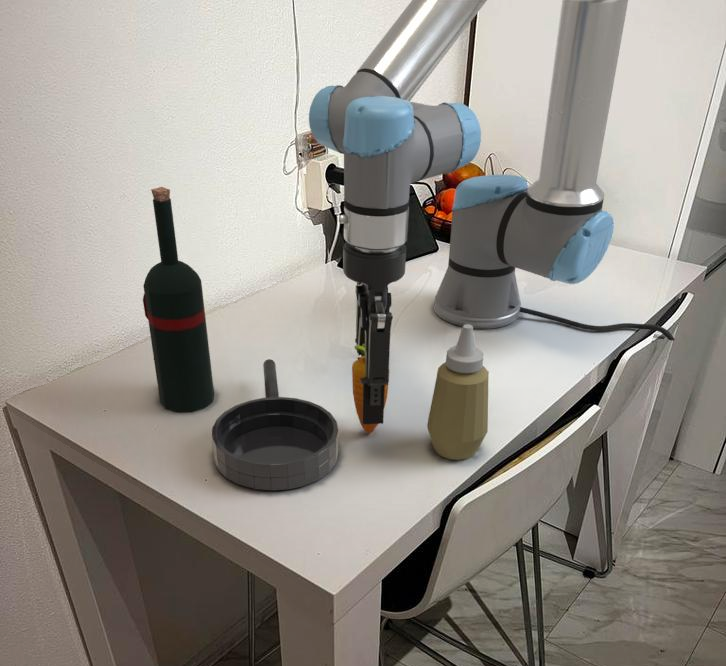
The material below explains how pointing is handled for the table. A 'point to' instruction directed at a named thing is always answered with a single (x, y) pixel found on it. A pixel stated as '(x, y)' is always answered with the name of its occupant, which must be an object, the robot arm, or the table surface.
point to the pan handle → (270, 379)
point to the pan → (275, 443)
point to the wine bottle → (177, 321)
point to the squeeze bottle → (460, 401)
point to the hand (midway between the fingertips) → (369, 410)
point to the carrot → (358, 373)
